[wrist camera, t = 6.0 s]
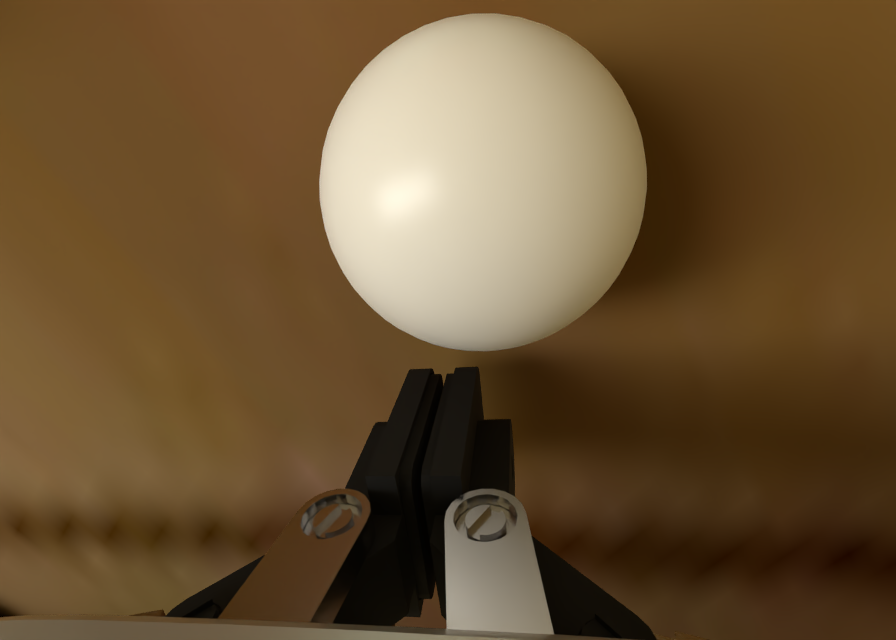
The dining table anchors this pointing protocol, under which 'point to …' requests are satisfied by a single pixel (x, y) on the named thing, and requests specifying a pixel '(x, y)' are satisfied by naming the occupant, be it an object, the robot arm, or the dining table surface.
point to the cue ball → (483, 182)
